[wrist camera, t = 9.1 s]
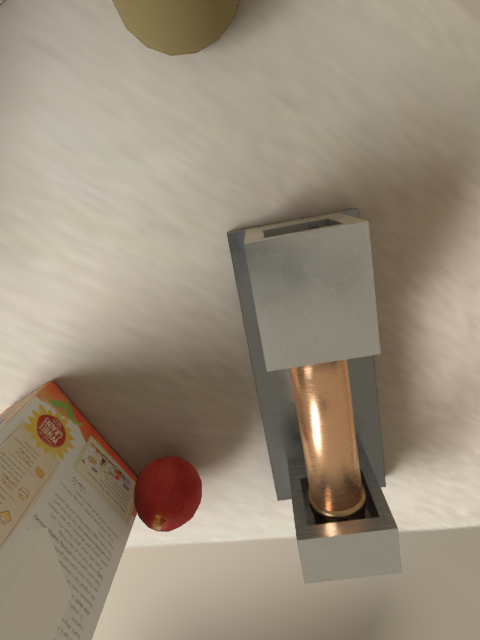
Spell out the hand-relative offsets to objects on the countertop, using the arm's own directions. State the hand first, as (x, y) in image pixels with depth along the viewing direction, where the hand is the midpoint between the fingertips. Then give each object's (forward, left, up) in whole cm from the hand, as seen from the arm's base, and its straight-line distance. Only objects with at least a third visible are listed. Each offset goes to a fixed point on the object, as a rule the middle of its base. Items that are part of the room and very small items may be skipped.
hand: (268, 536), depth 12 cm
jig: (+4, -5, -24) cm, 24 cm away
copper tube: (+4, -8, -20) cm, 21 cm away
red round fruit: (-10, -14, -24) cm, 29 cm away
